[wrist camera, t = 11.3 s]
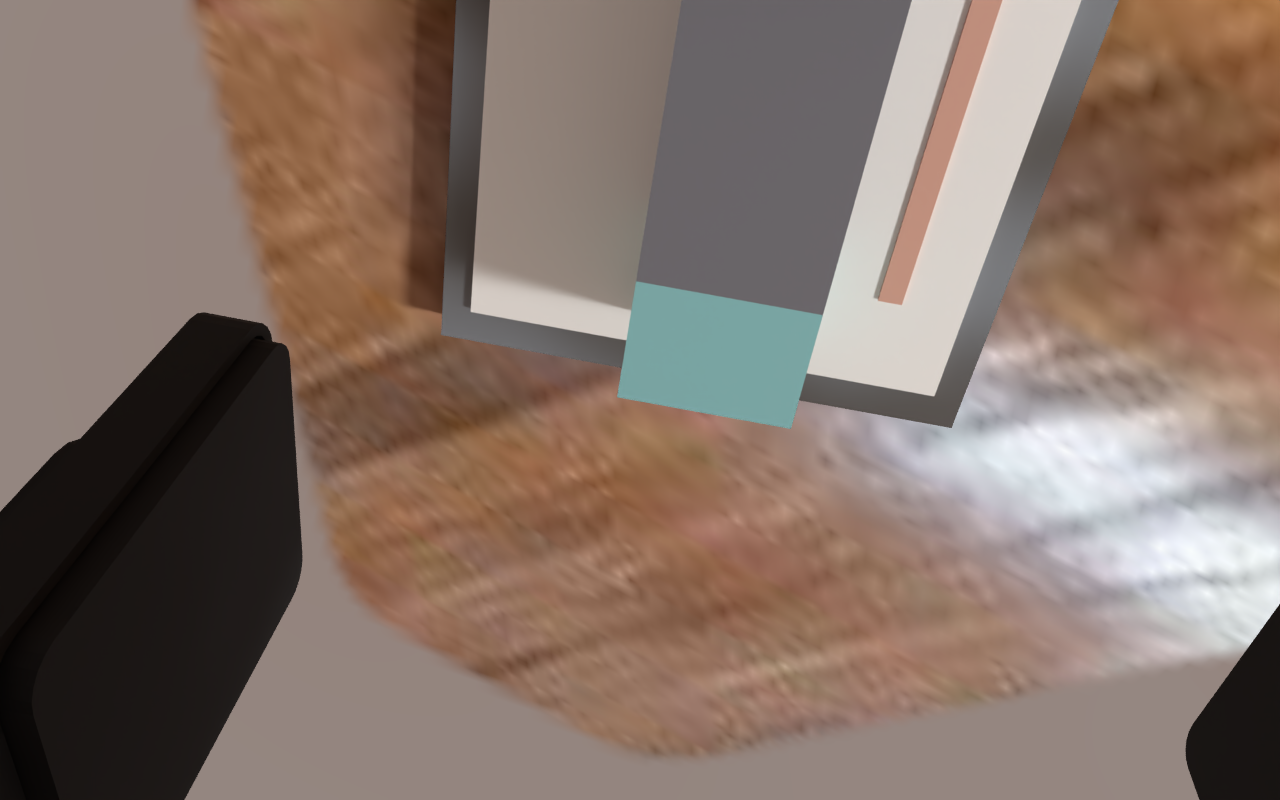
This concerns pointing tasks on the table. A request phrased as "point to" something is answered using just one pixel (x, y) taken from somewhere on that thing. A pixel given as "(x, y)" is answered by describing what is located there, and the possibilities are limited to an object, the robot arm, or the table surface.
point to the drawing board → (881, 217)
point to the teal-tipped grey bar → (753, 198)
